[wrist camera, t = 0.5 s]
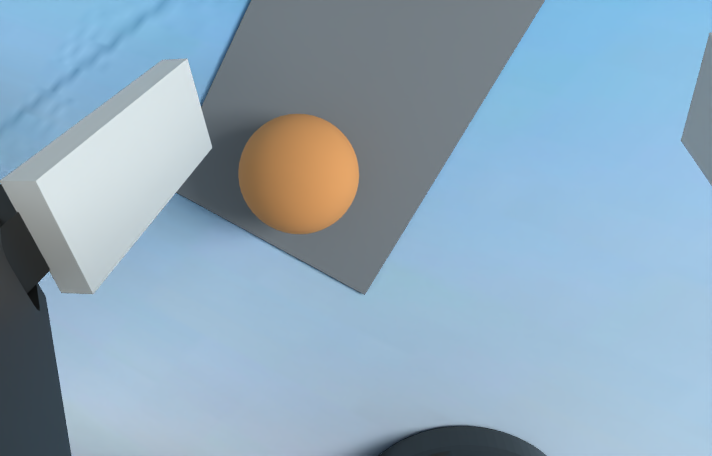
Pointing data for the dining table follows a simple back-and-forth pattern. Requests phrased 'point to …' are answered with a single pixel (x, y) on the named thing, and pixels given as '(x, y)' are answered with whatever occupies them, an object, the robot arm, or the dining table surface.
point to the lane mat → (356, 107)
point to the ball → (298, 173)
